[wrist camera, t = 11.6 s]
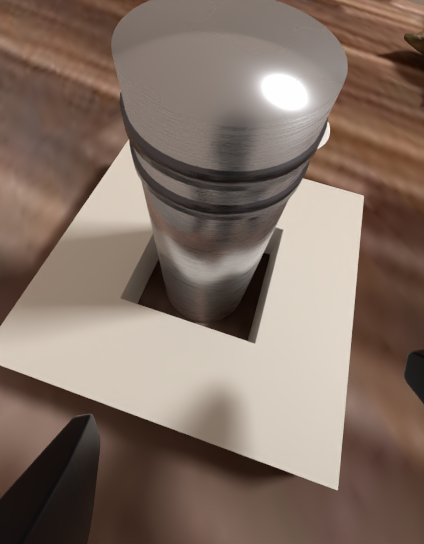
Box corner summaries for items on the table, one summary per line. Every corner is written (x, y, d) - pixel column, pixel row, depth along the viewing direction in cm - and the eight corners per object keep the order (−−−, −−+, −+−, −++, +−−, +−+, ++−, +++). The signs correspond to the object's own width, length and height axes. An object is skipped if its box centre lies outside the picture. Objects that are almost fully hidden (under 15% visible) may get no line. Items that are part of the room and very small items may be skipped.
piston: (257, 309, 17) (402, 102, 5) (176, 334, 16) (133, 147, 4) (229, 241, 19) (289, -17, 7) (156, 259, 18) (90, -5, 6)
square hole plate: (308, 473, 13) (337, 490, 11) (18, 366, 15) (-22, 357, 12) (341, 223, 20) (363, 195, 18) (142, 164, 22) (135, 130, 19)
